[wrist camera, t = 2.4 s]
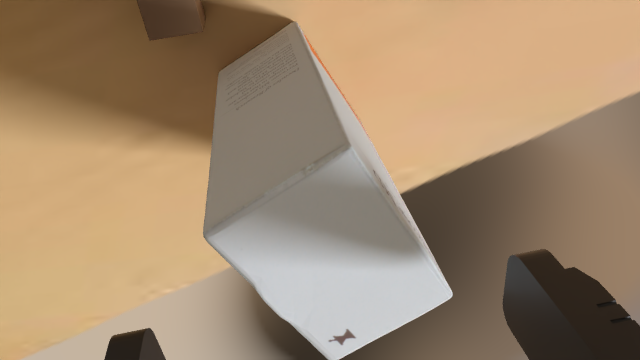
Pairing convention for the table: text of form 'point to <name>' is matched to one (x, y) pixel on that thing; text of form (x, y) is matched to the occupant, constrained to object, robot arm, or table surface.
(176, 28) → the wooden u-shaped block
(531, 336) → the robot arm
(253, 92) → the skincare box
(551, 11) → the table surface
